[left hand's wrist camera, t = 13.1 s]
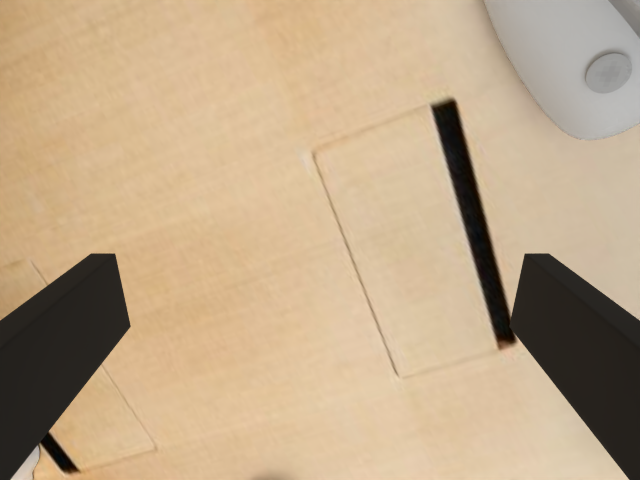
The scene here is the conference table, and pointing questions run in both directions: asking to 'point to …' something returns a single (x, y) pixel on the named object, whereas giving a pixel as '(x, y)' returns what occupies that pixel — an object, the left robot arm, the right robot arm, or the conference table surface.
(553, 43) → the projector
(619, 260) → the conference table surface
